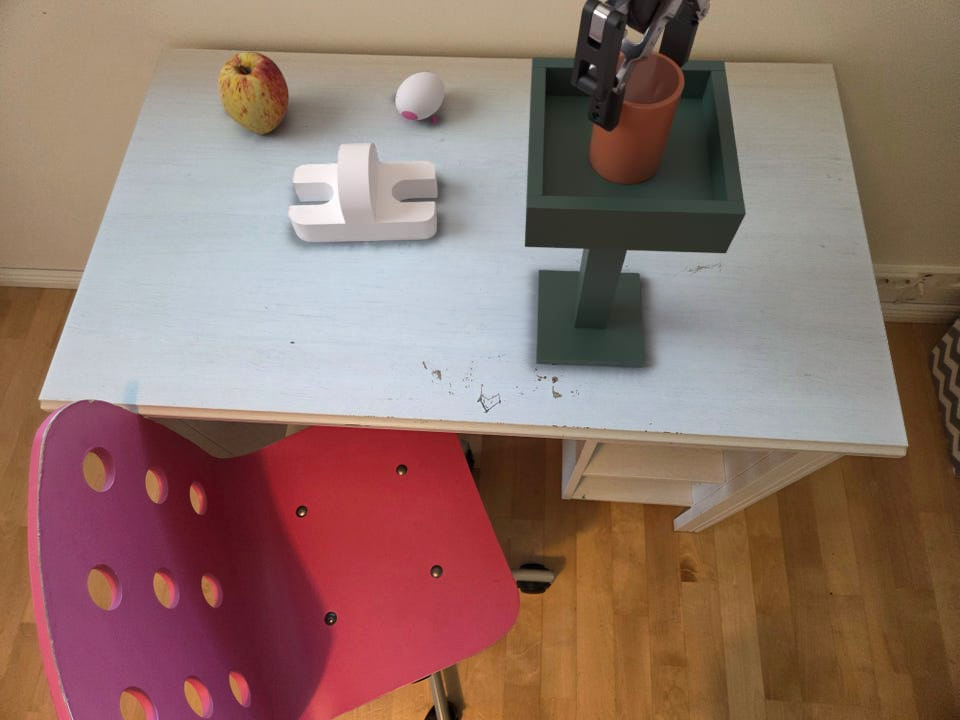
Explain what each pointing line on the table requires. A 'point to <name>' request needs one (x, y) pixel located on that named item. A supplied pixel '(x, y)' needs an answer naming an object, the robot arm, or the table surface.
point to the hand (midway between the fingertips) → (638, 91)
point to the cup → (639, 123)
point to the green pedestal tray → (621, 210)
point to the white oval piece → (420, 96)
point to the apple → (253, 91)
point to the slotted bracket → (364, 198)
